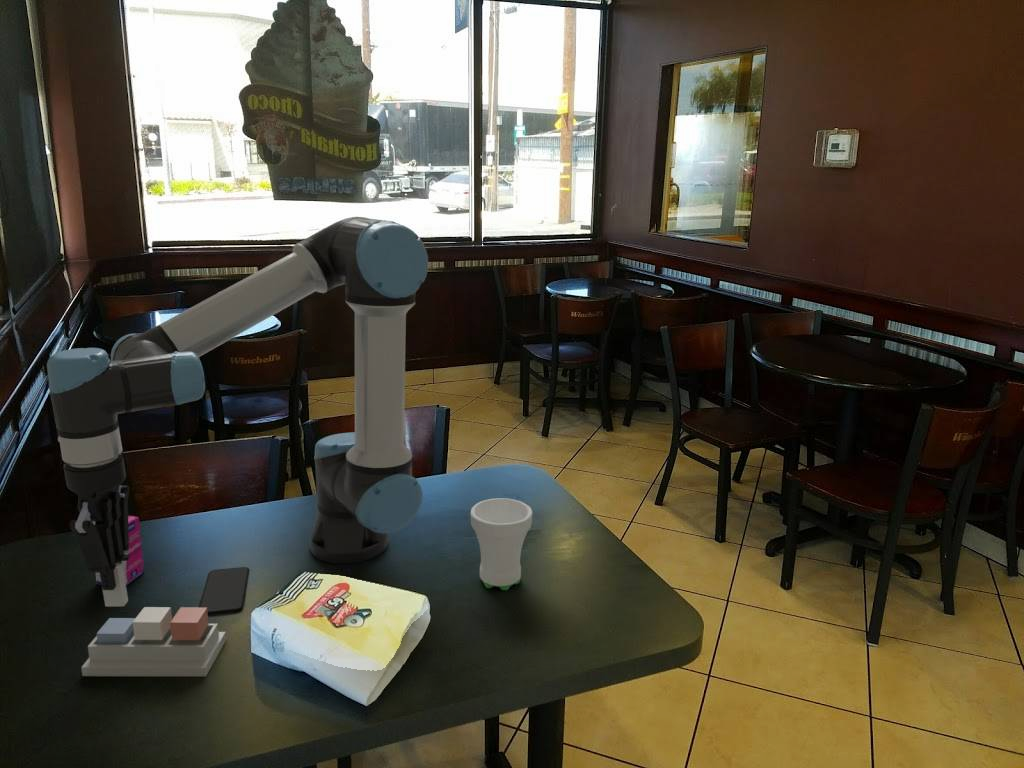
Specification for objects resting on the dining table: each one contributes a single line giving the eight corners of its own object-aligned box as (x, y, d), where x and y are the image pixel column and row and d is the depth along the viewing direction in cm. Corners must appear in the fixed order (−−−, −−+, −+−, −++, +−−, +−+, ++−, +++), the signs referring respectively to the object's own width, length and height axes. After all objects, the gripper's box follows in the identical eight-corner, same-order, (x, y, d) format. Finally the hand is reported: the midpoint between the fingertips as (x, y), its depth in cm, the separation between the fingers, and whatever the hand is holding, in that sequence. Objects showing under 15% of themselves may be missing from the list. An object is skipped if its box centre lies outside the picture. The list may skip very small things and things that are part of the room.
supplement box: (124, 588, 135) (117, 530, 132) (95, 584, 136) (87, 526, 133) (146, 572, 140) (139, 515, 137) (118, 568, 142) (110, 512, 138)
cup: (457, 580, 140) (457, 510, 136) (499, 559, 148) (500, 492, 144) (501, 604, 133) (502, 531, 129) (542, 581, 141) (545, 511, 137)
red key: (208, 624, 118) (207, 607, 117) (199, 640, 114) (197, 622, 113) (182, 624, 118) (180, 607, 117) (172, 639, 114) (170, 622, 113)
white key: (172, 624, 117) (170, 607, 117) (162, 639, 114) (159, 622, 113) (146, 624, 117) (144, 607, 116) (134, 639, 114) (132, 622, 113)
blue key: (138, 635, 118) (135, 618, 117) (126, 651, 114) (123, 633, 113) (111, 634, 118) (109, 618, 117) (99, 650, 114) (96, 633, 113)
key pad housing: (226, 639, 121) (224, 618, 120) (205, 676, 113) (203, 653, 112) (111, 639, 121) (108, 617, 120) (82, 676, 112) (78, 652, 111)
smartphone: (250, 565, 143) (242, 608, 129) (250, 570, 143) (243, 613, 129) (208, 569, 141) (196, 613, 127) (209, 574, 141) (196, 618, 127)
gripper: (89, 441, 114) (112, 580, 120) (40, 476, 101) (68, 629, 108) (140, 441, 114) (160, 580, 121) (97, 476, 101) (122, 629, 108)
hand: (116, 603), depth 114 cm, fingers closed
